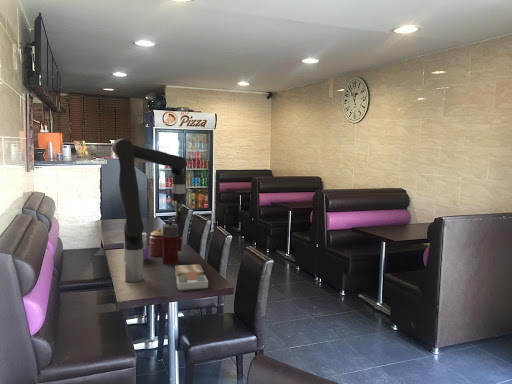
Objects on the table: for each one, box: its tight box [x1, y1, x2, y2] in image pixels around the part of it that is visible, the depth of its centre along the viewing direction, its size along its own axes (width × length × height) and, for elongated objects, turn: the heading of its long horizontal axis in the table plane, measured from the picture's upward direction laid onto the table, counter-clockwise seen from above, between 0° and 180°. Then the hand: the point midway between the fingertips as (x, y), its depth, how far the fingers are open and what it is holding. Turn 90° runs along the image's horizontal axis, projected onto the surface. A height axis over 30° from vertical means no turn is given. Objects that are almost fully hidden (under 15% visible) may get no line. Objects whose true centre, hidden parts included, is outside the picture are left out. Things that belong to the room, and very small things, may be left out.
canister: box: [148, 227, 163, 257], centre depth 268 cm, size 13×13×18 cm
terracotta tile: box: [186, 272, 197, 280], centre depth 212 cm, size 5×5×2 cm
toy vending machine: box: [162, 217, 182, 265], centre depth 250 cm, size 9×11×28 cm
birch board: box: [174, 263, 205, 280], centre depth 222 cm, size 14×14×5 cm
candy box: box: [123, 232, 148, 262], centre depth 254 cm, size 14×6×16 cm, turn 112°
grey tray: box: [176, 274, 209, 291], centre depth 210 cm, size 15×11×4 cm
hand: (178, 222), depth 228 cm, fingers closed
